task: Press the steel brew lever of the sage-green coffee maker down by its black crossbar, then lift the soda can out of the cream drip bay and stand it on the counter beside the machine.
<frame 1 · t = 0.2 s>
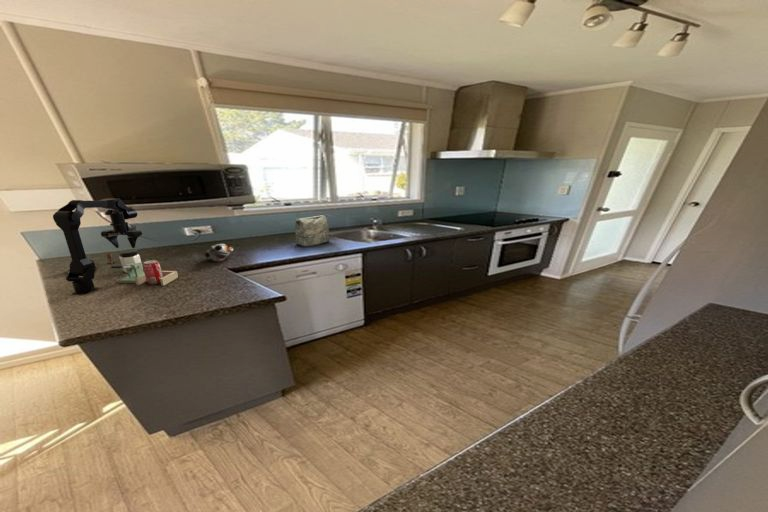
hand: (125, 247, 164), 14 cm above the countertop, tool pointing down, fingers open, 9 cm apart
soda can: (155, 282, 154), on the countertop
jar: (133, 270, 170), on the countertop
lunch bag: (313, 243, 234), on the countertop
place setting: (93, 269, 171), on the countertop
drip bay: (155, 282, 154), on the countertop
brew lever: (126, 266, 152), point 9 cm above the countertop, hinge at 20.0°
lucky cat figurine: (220, 259, 191), on the countertop
coffee maker: (137, 278, 159), on the countertop
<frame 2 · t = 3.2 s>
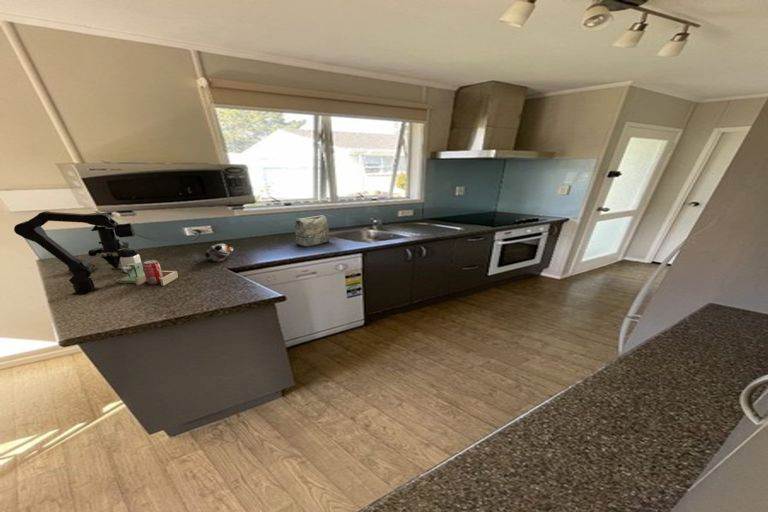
hand: (116, 267, 146), 10 cm above the countertop, tool pointing down, fingers closed, pressing on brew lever
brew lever: (126, 267, 152), point 8 cm above the countertop, hinge at 13.5°, touching gripper
everything else where it was.
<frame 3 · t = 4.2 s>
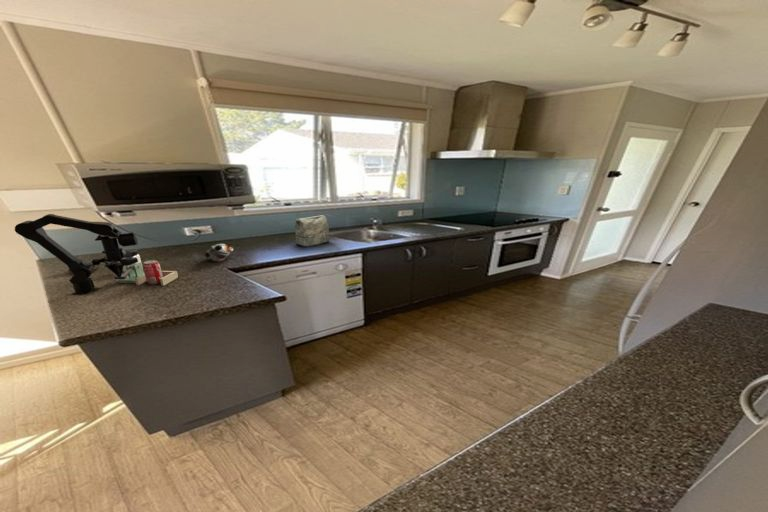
hand: (119, 276, 148), 5 cm above the countertop, tool pointing down, fingers closed, pressing on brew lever
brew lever: (127, 271, 153), point 6 cm above the countertop, hinge at -14.6°, touching gripper
everything else where it was.
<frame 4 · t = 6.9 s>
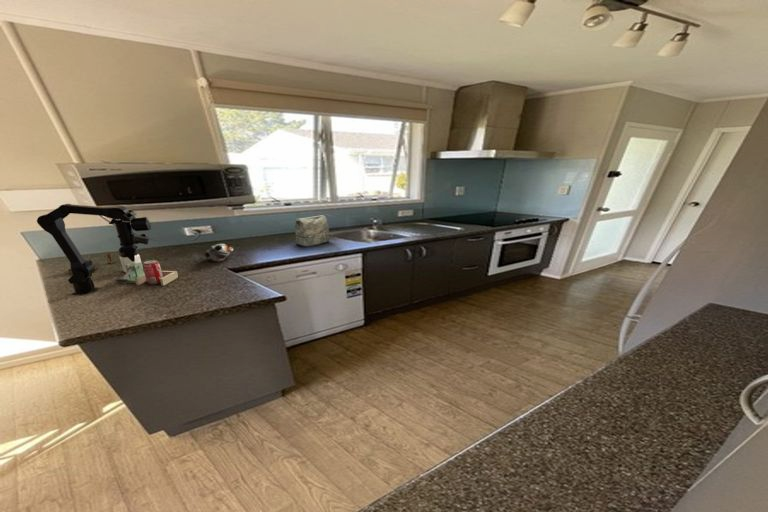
hand: (133, 261, 147), 13 cm above the countertop, tool pointing down, fingers closed
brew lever: (128, 273, 153), point 5 cm above the countertop, hinge at -25.2°
everything else where it was.
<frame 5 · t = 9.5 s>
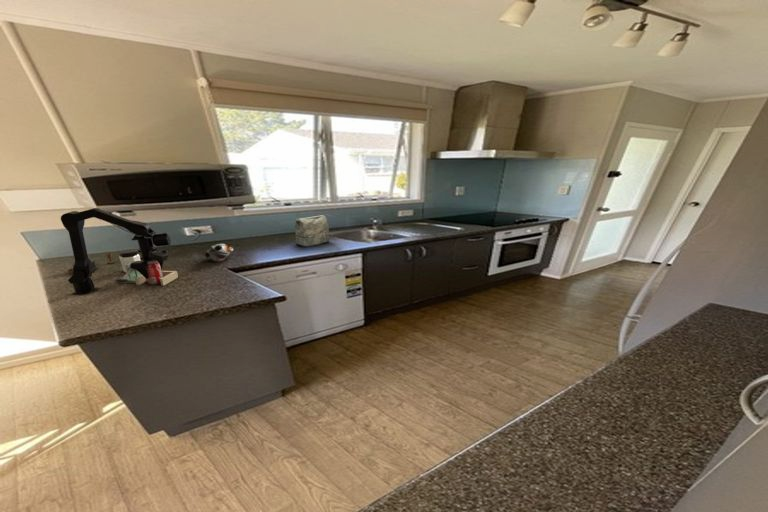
hand: (153, 275, 153), 4 cm above the countertop, tool pointing down
soda can: (155, 282, 154), on the countertop, touching gripper
everything else where it was.
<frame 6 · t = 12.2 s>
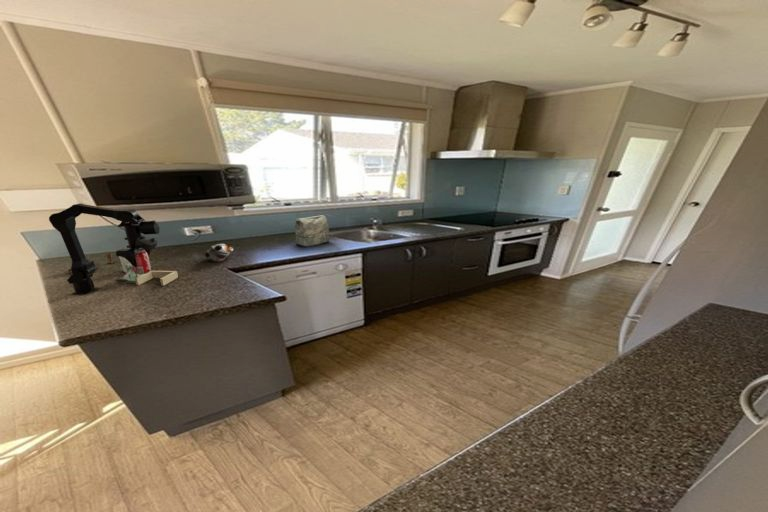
hand: (141, 264, 147), 12 cm above the countertop, tool pointing down, fingers closed on soda can, 7 cm apart
soda can: (143, 273, 148), point 7 cm above the countertop, touching gripper
everything else where it was.
when the fingers open (5 cm above the countertop, at t = 14.9 s): soda can stays where it is, on the countertop.
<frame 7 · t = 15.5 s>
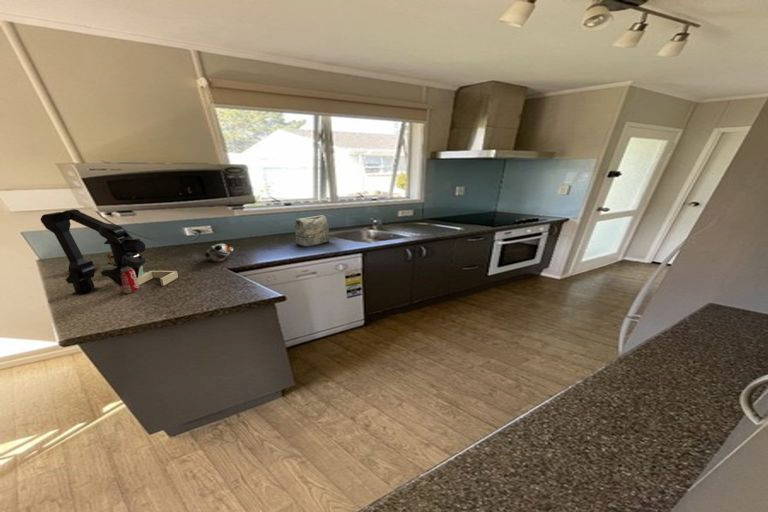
hand: (128, 282, 142), 5 cm above the countertop, tool pointing down, fingers open, 9 cm apart
soda can: (131, 291, 144), on the countertop
everything else where it was.
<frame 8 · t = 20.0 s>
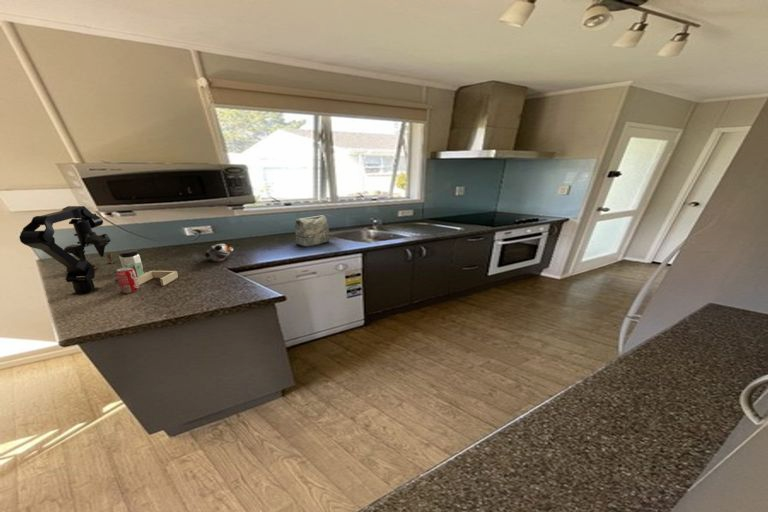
hand: (94, 259, 149), 13 cm above the countertop, tool pointing down, fingers open, 9 cm apart
nothing on the countertop moved.
at the end: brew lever at -25° (first picture: +20°); soda can inside the target area (0.3 cm from its centre), on the countertop; soda can tilted 0° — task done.
